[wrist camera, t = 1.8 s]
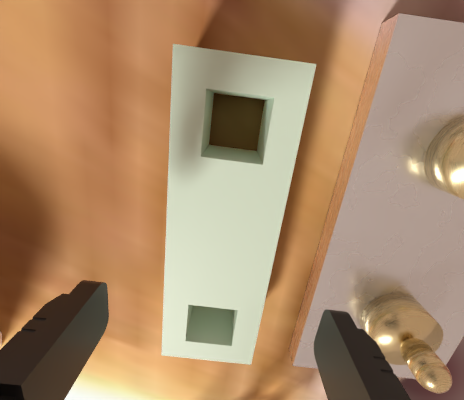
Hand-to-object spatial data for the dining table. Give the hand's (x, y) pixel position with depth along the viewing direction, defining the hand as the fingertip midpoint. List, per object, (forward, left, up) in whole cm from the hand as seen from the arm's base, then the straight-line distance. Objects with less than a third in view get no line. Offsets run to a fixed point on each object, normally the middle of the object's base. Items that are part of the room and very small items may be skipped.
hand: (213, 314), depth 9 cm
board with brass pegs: (0, +13, -9) cm, 16 cm away
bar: (0, 0, -9) cm, 9 cm away
